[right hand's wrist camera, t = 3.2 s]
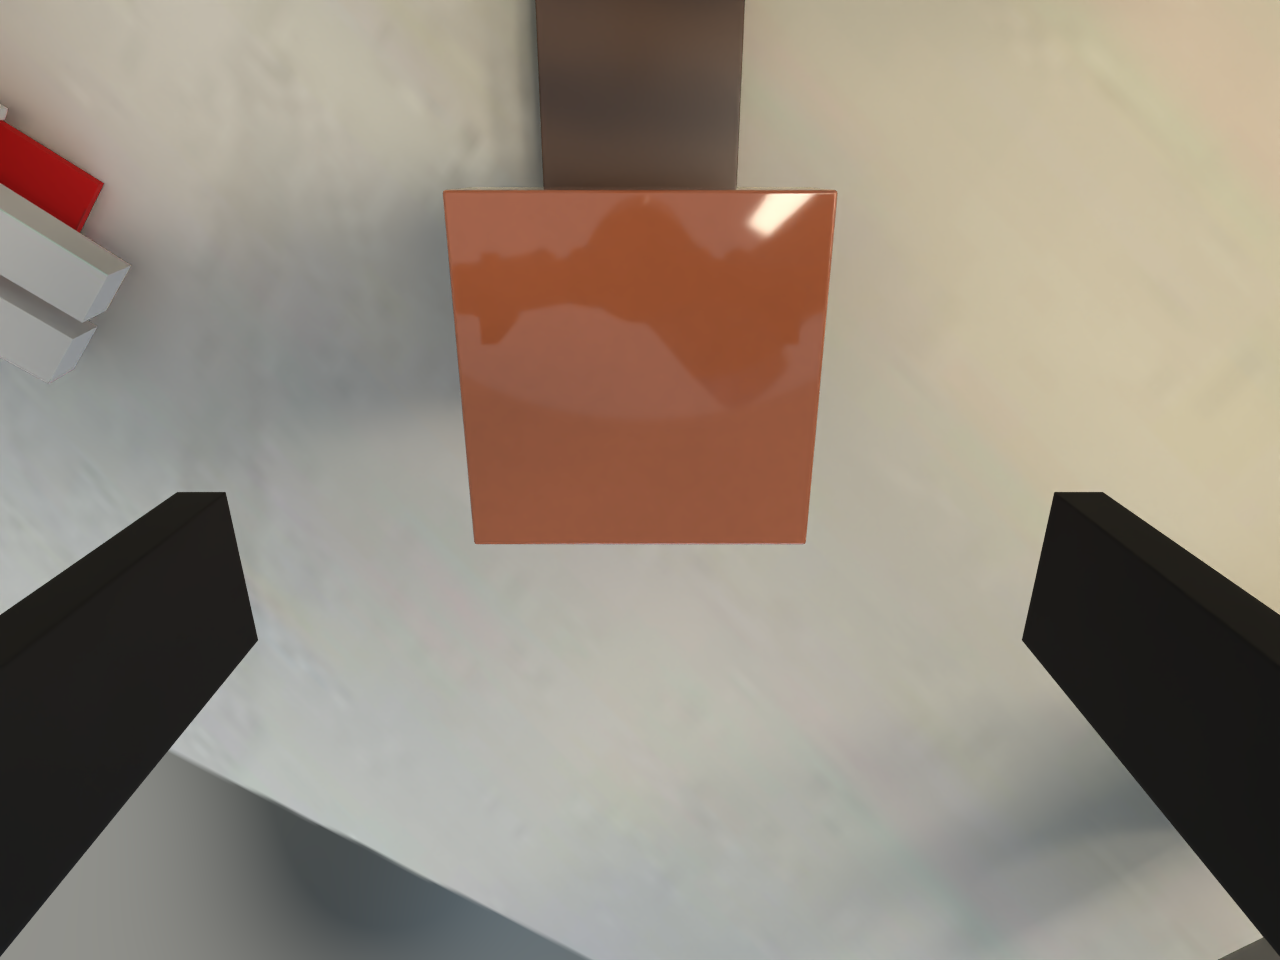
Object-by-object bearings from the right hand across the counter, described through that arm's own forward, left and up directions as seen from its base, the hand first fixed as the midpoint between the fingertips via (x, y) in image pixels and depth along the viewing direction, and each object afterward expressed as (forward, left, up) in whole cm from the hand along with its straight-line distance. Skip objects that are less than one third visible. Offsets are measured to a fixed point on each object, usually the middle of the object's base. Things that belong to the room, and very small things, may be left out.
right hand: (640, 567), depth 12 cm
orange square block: (0, 0, -17) cm, 17 cm away
